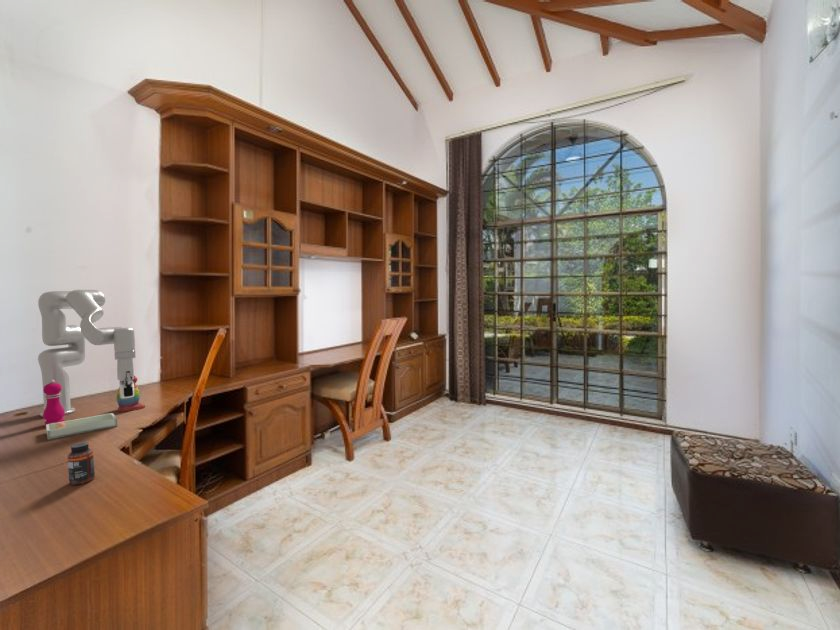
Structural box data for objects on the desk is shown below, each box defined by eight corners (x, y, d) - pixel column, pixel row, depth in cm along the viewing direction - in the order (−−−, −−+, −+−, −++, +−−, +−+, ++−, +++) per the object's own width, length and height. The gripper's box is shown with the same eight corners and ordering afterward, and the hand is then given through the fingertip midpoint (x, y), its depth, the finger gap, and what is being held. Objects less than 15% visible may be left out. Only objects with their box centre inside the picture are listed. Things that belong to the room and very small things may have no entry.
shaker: (119, 397, 180) (118, 382, 180) (133, 395, 184) (132, 380, 183) (121, 399, 176) (120, 384, 176) (135, 396, 180) (134, 382, 180)
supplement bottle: (92, 475, 124) (90, 439, 124) (97, 480, 121) (95, 443, 120) (67, 482, 120) (65, 445, 119) (71, 487, 116) (69, 449, 116)
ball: (59, 433, 165) (55, 428, 166) (68, 428, 167) (64, 423, 168) (56, 428, 163) (52, 424, 164) (65, 424, 165) (61, 419, 166)
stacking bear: (146, 407, 202) (145, 372, 201) (124, 412, 193) (122, 376, 192) (134, 405, 207) (133, 371, 206) (112, 410, 198) (110, 374, 197)
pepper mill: (52, 427, 172) (49, 381, 171) (39, 426, 174) (36, 381, 173) (69, 422, 179) (67, 378, 178) (57, 421, 181) (54, 377, 180)
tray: (46, 432, 165) (46, 424, 165) (112, 420, 180) (112, 412, 180) (47, 439, 156) (47, 431, 156) (117, 426, 172) (116, 418, 172)
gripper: (111, 354, 182) (114, 393, 183) (117, 358, 170) (120, 400, 171) (131, 352, 188) (133, 390, 189) (139, 355, 176) (141, 396, 176)
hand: (127, 394), depth 180 cm, fingers closed on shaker, 5 cm apart
